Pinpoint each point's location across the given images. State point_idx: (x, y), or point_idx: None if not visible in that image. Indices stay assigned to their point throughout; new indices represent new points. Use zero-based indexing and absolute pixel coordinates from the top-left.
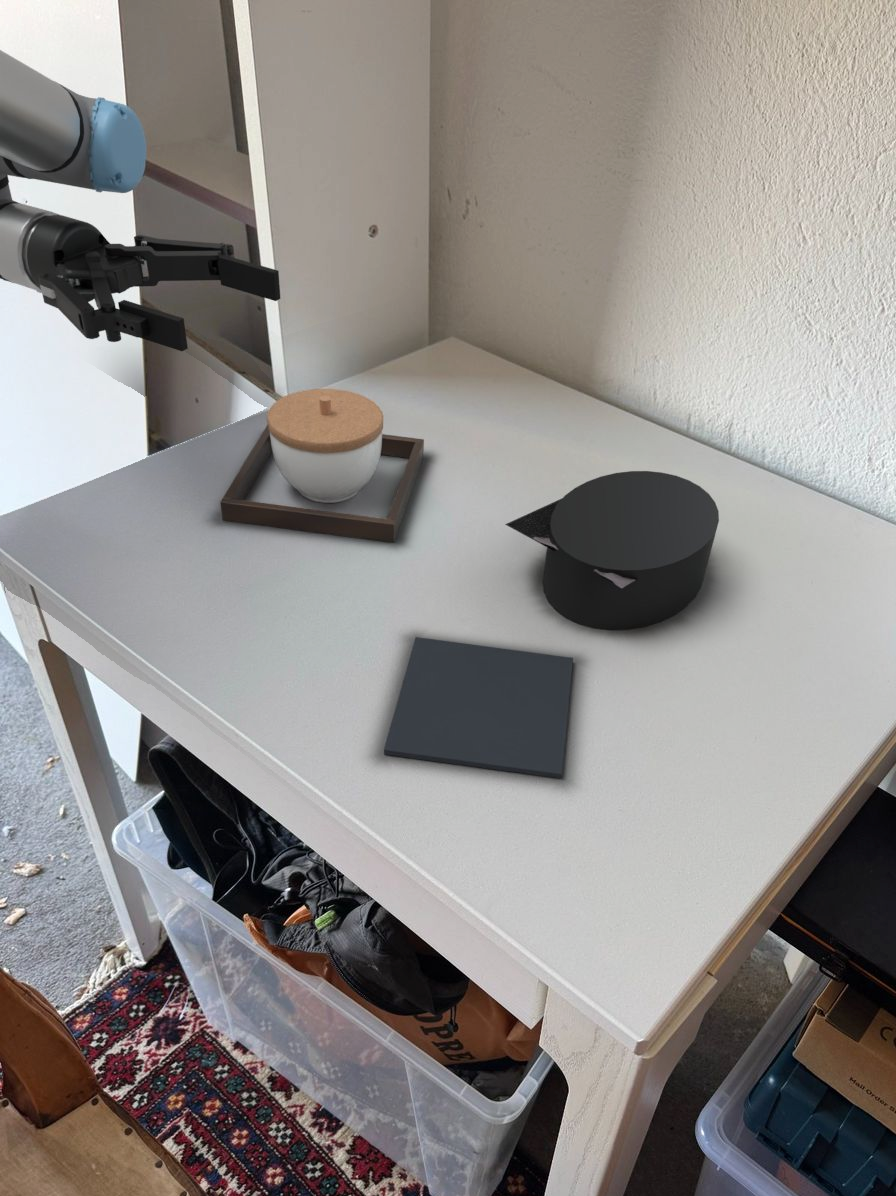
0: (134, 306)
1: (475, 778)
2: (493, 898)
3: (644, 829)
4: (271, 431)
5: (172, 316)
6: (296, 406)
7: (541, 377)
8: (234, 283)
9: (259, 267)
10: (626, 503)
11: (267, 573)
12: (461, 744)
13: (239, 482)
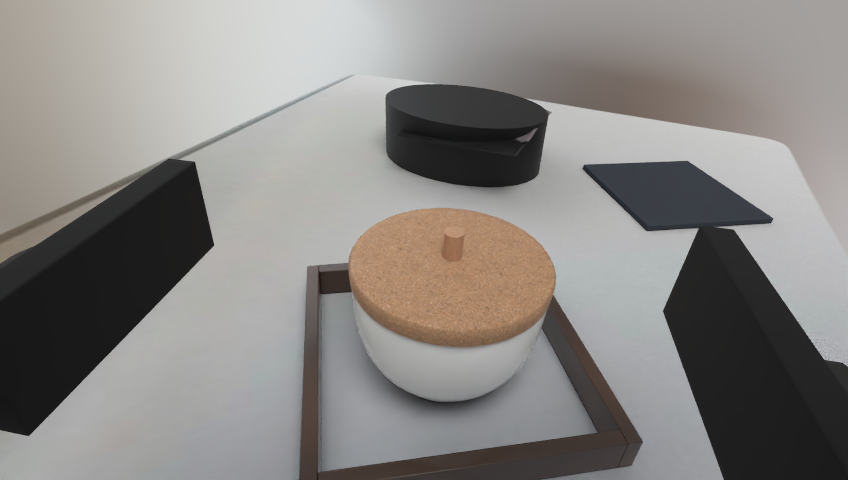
0: (837, 393)
1: (730, 189)
2: (791, 175)
3: (681, 144)
4: (538, 317)
5: (727, 248)
6: (455, 292)
7: (39, 228)
8: (85, 350)
9: (138, 192)
10: (448, 106)
11: (679, 358)
12: (719, 192)
13: (567, 439)
